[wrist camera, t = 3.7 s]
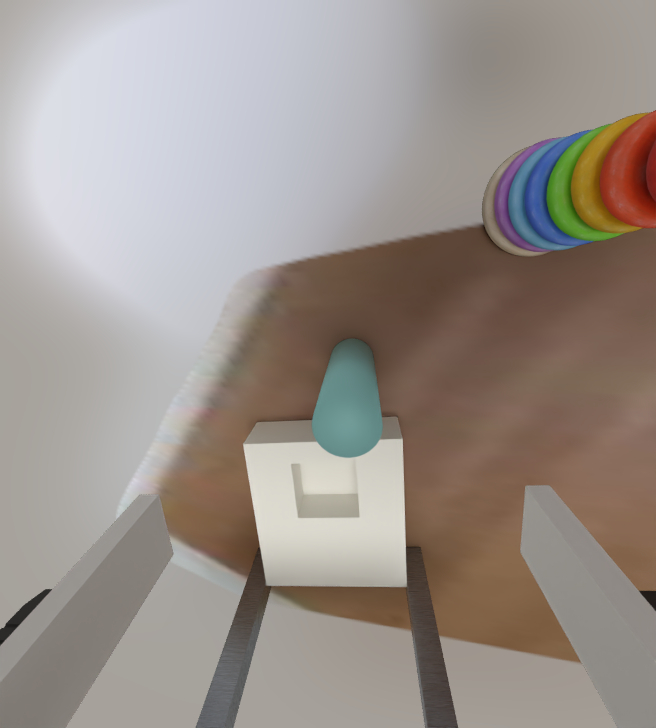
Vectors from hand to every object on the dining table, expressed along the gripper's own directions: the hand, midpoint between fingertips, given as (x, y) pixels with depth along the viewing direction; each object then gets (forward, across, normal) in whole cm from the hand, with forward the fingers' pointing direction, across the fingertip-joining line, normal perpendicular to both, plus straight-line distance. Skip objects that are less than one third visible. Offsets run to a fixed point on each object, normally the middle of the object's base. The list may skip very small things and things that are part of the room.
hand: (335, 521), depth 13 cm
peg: (+22, 0, 0) cm, 22 cm away
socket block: (+22, -3, -14) cm, 26 cm away
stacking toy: (+22, +15, +12) cm, 29 cm away
